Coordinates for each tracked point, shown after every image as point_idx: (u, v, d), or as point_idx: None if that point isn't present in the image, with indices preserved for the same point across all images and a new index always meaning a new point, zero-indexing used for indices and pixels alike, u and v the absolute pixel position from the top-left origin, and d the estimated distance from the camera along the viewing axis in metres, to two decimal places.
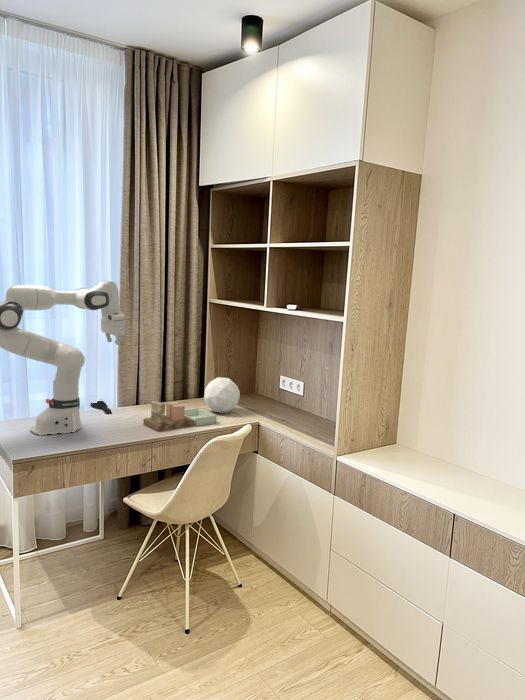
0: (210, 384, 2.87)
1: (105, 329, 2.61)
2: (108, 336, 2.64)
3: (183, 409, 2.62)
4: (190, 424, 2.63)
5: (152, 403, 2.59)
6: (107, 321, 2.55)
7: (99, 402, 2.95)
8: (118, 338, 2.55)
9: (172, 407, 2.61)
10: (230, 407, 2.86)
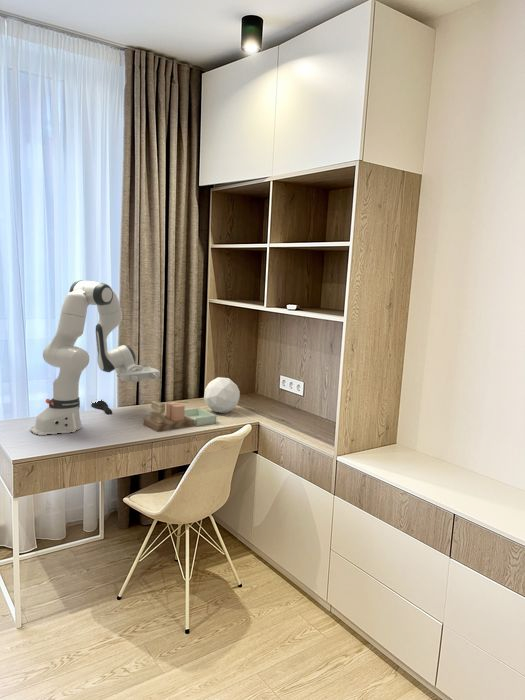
0: (210, 384, 2.87)
1: (134, 372, 2.68)
2: None
3: (183, 409, 2.62)
4: (190, 424, 2.63)
5: (152, 403, 2.59)
6: (139, 368, 2.75)
7: (100, 402, 2.95)
8: None
9: (172, 407, 2.61)
10: (230, 407, 2.86)
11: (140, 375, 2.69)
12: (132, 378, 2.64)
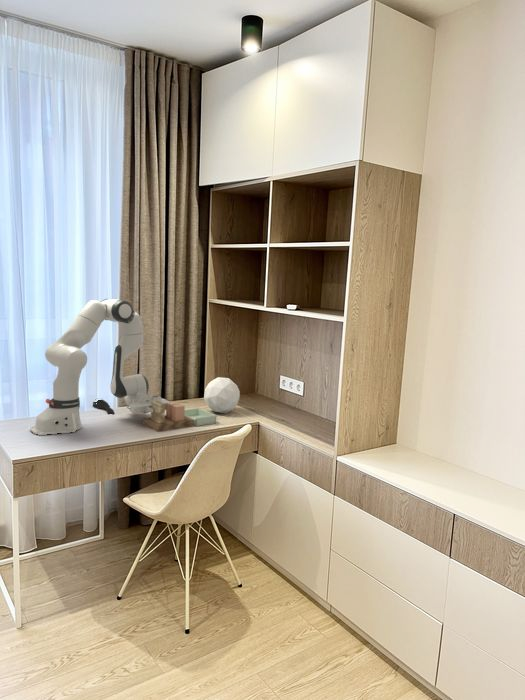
0: (210, 384, 2.87)
1: (145, 404, 2.61)
2: None
3: (183, 409, 2.62)
4: (190, 424, 2.63)
5: (152, 403, 2.59)
6: (149, 399, 2.67)
7: (101, 402, 2.95)
8: None
9: (172, 407, 2.61)
10: (230, 407, 2.86)
11: None
12: (147, 410, 2.58)
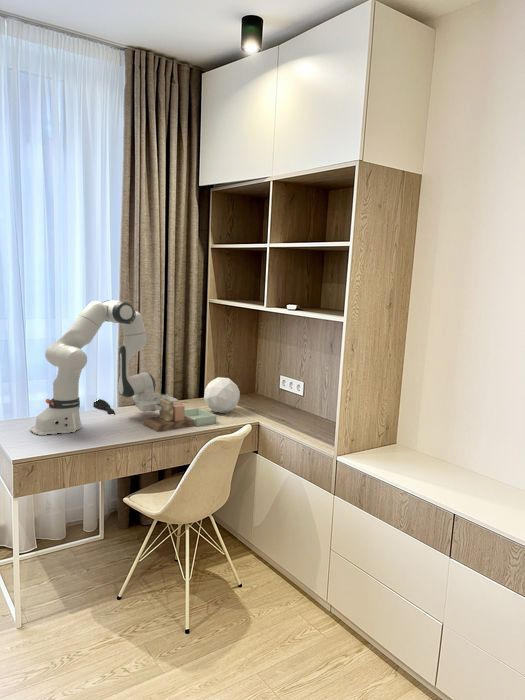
0: (210, 384, 2.87)
1: (153, 402, 2.64)
2: None
3: (183, 409, 2.62)
4: (190, 424, 2.63)
5: (160, 401, 2.62)
6: (157, 397, 2.70)
7: (102, 403, 2.94)
8: None
9: None
10: (230, 407, 2.86)
11: (159, 405, 2.65)
12: (156, 408, 2.61)
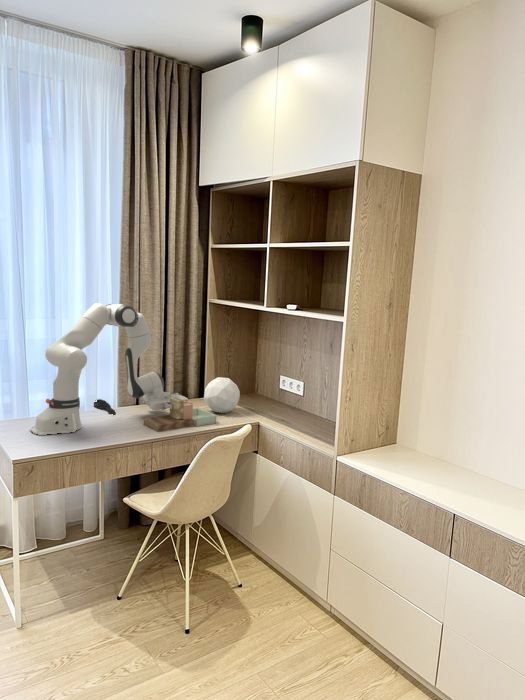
0: (210, 384, 2.87)
1: (163, 401, 2.67)
2: None
3: (191, 408, 2.65)
4: (190, 424, 2.63)
5: (171, 399, 2.65)
6: (167, 396, 2.74)
7: (102, 403, 2.94)
8: None
9: None
10: (230, 407, 2.86)
11: (169, 403, 2.68)
12: (166, 406, 2.65)
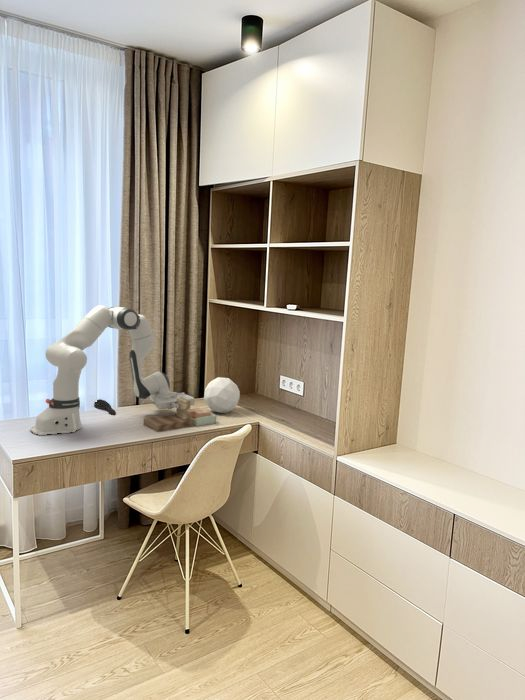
0: (210, 384, 2.87)
1: (170, 400, 2.69)
2: None
3: None
4: (190, 424, 2.63)
5: (177, 400, 2.68)
6: (174, 395, 2.76)
7: (103, 403, 2.94)
8: None
9: (206, 410, 2.72)
10: (230, 407, 2.86)
11: (176, 403, 2.71)
12: (173, 405, 2.67)
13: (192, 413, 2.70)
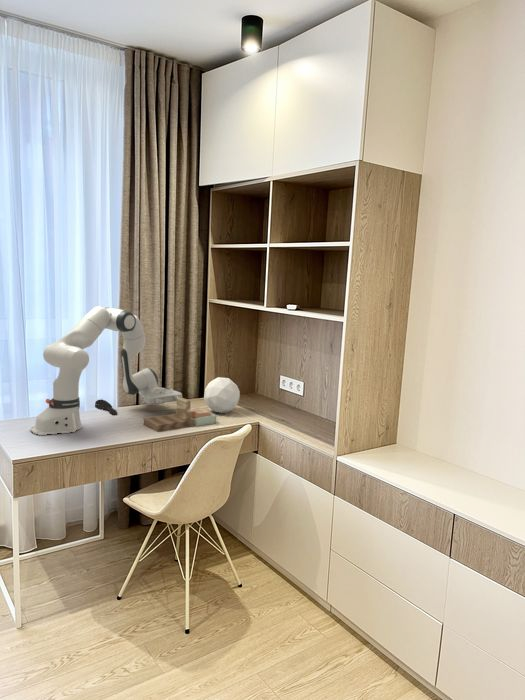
0: (210, 384, 2.87)
1: (158, 395, 2.79)
2: None
3: None
4: (190, 424, 2.63)
5: (178, 400, 2.68)
6: (162, 391, 2.86)
7: (103, 403, 2.94)
8: None
9: (206, 410, 2.72)
10: (230, 407, 2.86)
11: (164, 398, 2.80)
12: (156, 401, 2.75)
13: (192, 413, 2.70)
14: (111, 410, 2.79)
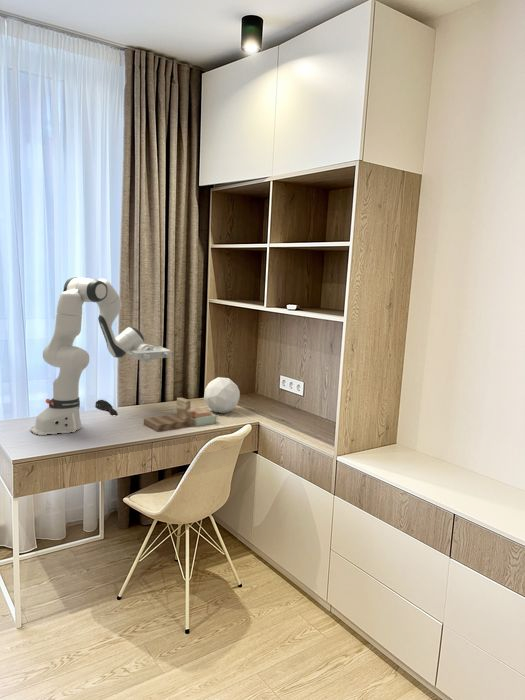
0: (210, 384, 2.87)
1: (146, 351, 2.72)
2: None
3: None
4: (190, 424, 2.63)
5: (178, 400, 2.68)
6: (151, 348, 2.78)
7: (104, 403, 2.93)
8: None
9: (206, 410, 2.72)
10: (230, 407, 2.86)
11: (152, 354, 2.73)
12: (144, 356, 2.68)
13: (192, 413, 2.70)
14: (111, 410, 2.79)
